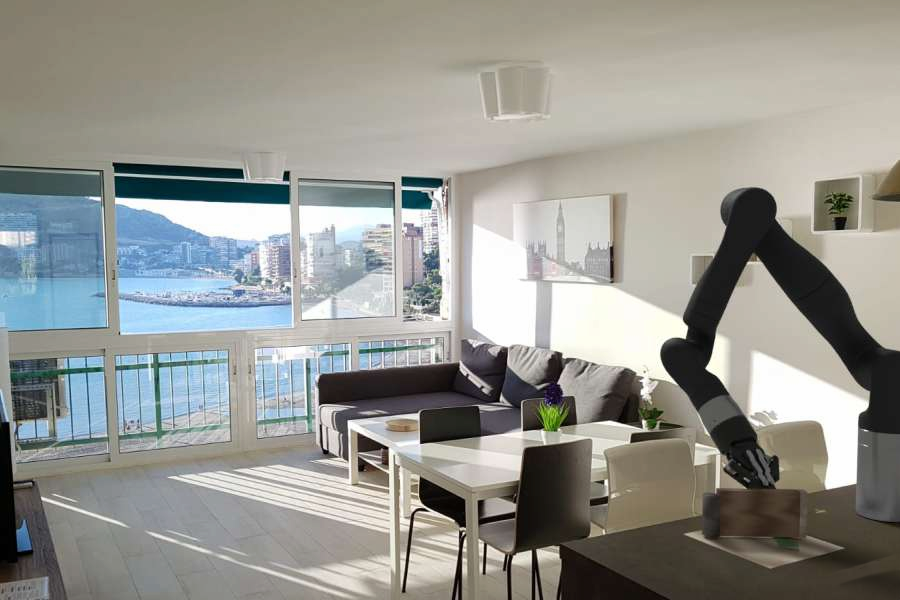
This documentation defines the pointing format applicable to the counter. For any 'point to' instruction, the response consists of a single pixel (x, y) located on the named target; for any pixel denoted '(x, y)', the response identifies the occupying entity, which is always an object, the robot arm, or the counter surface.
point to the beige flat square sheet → (769, 548)
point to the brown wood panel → (755, 513)
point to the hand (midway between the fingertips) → (778, 507)
